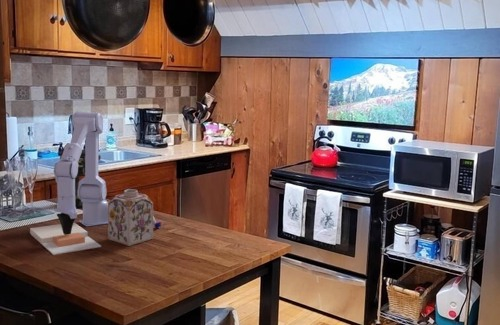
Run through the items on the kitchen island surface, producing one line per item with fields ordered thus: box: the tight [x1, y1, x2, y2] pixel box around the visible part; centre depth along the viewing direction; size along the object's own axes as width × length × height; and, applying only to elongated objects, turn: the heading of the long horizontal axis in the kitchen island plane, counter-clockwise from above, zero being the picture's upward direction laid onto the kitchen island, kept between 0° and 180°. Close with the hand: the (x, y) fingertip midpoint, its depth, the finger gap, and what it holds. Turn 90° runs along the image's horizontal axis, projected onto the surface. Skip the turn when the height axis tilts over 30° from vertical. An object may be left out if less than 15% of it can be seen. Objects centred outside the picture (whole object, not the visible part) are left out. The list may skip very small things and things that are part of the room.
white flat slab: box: [29, 222, 89, 245], centre depth 189 cm, size 16×14×2 cm
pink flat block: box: [53, 232, 85, 247], centre depth 181 cm, size 9×6×2 cm, turn 128°
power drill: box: [59, 149, 102, 208], centre depth 230 cm, size 9×17×25 cm, turn 101°
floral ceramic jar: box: [107, 188, 154, 247], centre depth 187 cm, size 12×12×18 cm
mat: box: [41, 236, 102, 256], centre depth 179 cm, size 16×12×1 cm
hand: (67, 233), depth 182 cm, fingers closed
